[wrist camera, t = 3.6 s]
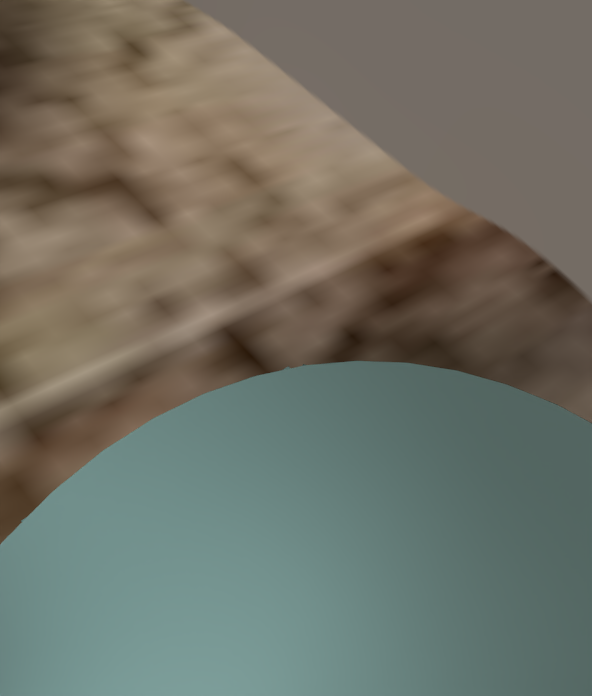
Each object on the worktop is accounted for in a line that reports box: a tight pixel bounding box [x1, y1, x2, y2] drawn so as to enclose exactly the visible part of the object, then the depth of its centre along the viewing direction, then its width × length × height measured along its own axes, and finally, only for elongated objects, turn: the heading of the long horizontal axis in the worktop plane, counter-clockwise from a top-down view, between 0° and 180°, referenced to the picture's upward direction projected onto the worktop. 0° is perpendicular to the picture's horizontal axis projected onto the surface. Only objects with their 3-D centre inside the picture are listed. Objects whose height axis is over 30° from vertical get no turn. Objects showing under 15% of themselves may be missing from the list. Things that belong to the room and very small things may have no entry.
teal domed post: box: [0, 361, 592, 696], centre depth 8 cm, size 7×7×11 cm
